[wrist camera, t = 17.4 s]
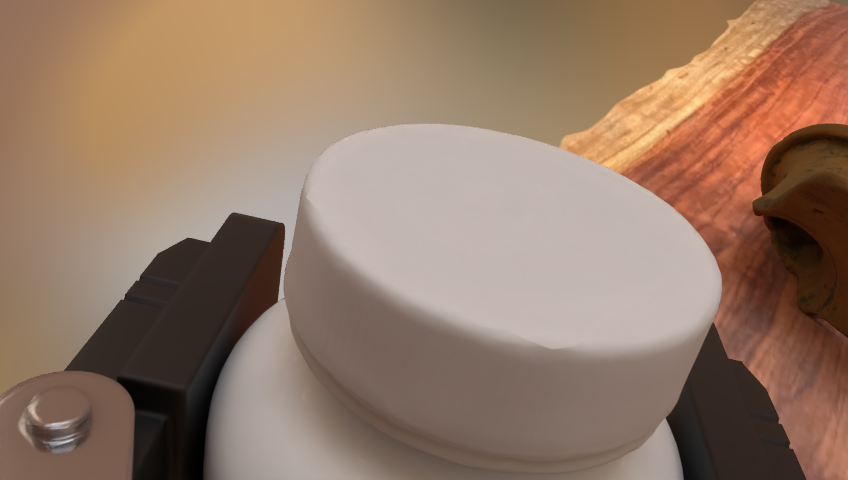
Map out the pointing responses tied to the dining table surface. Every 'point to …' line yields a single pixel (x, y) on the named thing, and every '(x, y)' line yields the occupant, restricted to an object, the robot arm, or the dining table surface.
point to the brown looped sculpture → (811, 216)
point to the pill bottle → (468, 320)
